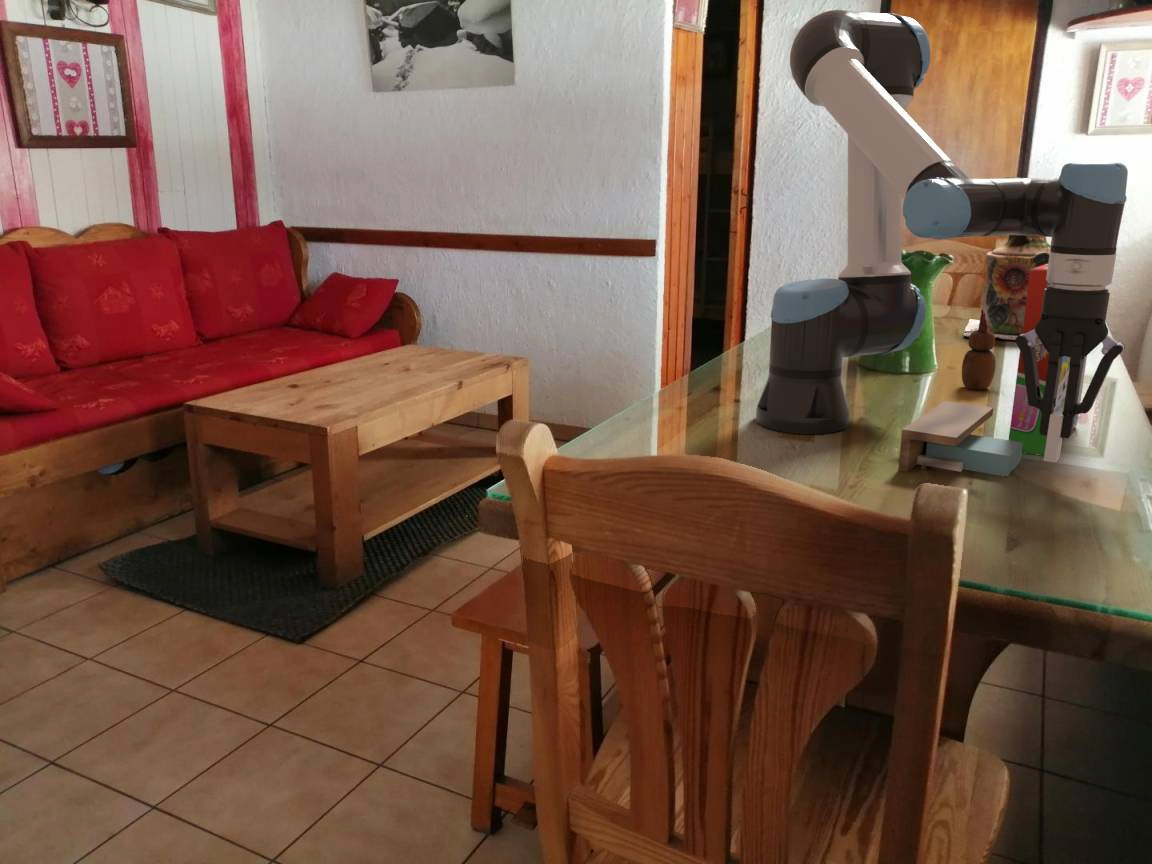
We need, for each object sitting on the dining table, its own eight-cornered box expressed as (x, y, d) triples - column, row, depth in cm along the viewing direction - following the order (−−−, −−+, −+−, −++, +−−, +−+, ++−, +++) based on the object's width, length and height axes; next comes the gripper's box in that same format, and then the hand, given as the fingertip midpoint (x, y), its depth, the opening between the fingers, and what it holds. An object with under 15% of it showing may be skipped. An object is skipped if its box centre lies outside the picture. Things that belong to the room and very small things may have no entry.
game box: (1041, 421, 151) (1063, 256, 144) (1077, 427, 148) (1102, 258, 140) (1006, 450, 136) (1029, 267, 128) (1045, 457, 132) (1072, 269, 125)
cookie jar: (967, 324, 248) (981, 204, 239) (1068, 330, 237) (1086, 205, 229) (961, 339, 227) (975, 208, 218) (1072, 346, 216) (1091, 208, 207)
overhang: (898, 470, 127) (902, 429, 125) (940, 437, 142) (944, 400, 141) (951, 480, 123) (956, 437, 121) (988, 445, 138) (993, 407, 136)
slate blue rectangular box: (924, 462, 130) (927, 442, 129) (941, 449, 136) (943, 430, 136) (1006, 476, 124) (1009, 455, 123) (1020, 462, 130) (1022, 442, 129)
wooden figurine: (962, 383, 179) (971, 307, 175) (994, 386, 176) (1004, 309, 172) (957, 390, 173) (965, 312, 169) (989, 393, 170) (999, 314, 166)
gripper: (1016, 285, 118) (994, 457, 125) (1131, 293, 111) (1101, 475, 117) (1029, 280, 124) (1007, 444, 130) (1139, 286, 116) (1109, 461, 123)
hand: (1051, 458), depth 124 cm, fingers closed
